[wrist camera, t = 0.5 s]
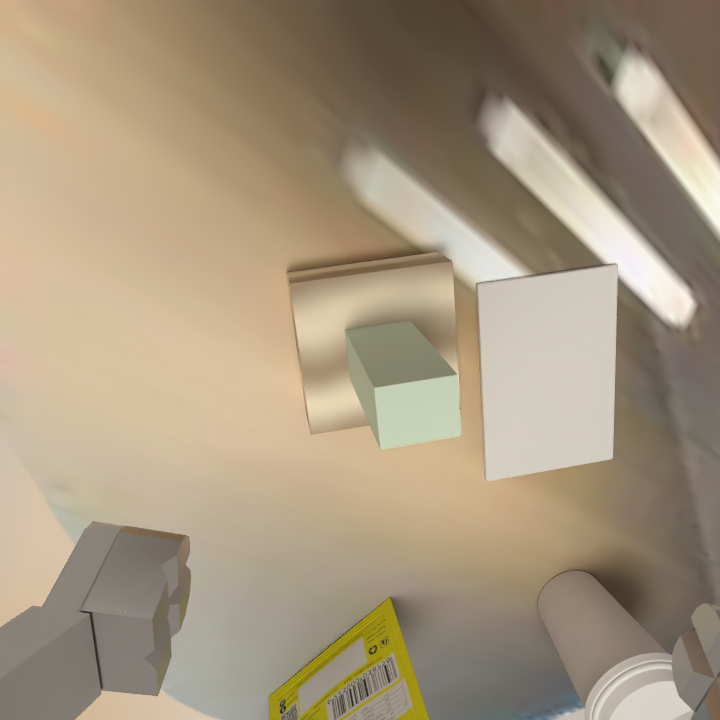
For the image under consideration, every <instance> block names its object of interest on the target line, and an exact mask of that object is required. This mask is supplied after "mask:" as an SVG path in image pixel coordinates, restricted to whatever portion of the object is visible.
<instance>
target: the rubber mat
mask: <svg viewBox="0 0 720 720" xmlns="http://www.w3.org/2000/svg"><path fill="white" fill-rule="evenodd" d="M617 277H618V265H616V264H611V265H604V266H597V267H590V268H583V269H576V270H569V271H562V272H555V273H547V274H540V275H533V276H526V277H519V278H512V279H505V280H498V281H491V282H484V283H477V284H476V298H477V320H478V342H479V364H480V386H481V408H482V429H483V451H484V473H485V480H486V481H492V480H498V479H503V478H509V477H515V476H520V475H526V474H531V473H537V472H542V471H548V470H554V469H559V468H565V467H570V466H576V465H582V464H587V463H593V462H598V461H604V460H609V459H613V431H614V393H615V354H616V316H617Z"/></svg>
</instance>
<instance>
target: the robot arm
mask: <svg viewBox="0 0 720 720" xmlns="http://www.w3.org/2000/svg"><path fill="white" fill-rule="evenodd" d="M189 553H190V542H189V536H186V535H181V534H174V533H168V532H162V531H156V530H149V529H143V528H137V527H130V526H122V525H115V524H109V523H102V522H95V521H93V522H92V523H91V524H90V525H89V526H88V527H87V528H86V529H85V530H84V532H83V534H82V536H81V537H80V539H79V541H78V543H77V545H76V546H75V548H74V550H73V552H72V554H71V555H70V557H69V559H68V561H67V563H66V565H65V566H64V568H63V570H62V572H61V574H60V575H59V577H58V579H57V581H56V583H55V584H54V586H53V588H52V590H51V592H50V594H49V595H48V597H47V599H46V601H45V603H44V604H43V606H42V607H39V606H31V607H30V608H29V609H27V610H25V611H24V612H22V613H21V614H20V615H18V616H16V617H15V618H13V619H12V620H11V621H9V622H7V623H6V624H4V625H3V626H2V627H0V720H75V719H76V718H77V717H78V716H79V715H80V714H81V713H82V712H83V711H84V710H85V709H86V708H87V707H88V706H89V705H90V704H92V703H93V702H94V701H95V700H96V699H97V698H98V697H99V696H100V695H101V690H104V691H113V692H122V693H133V694H142V695H152V696H158V694H159V691H160V688H161V685H162V682H163V680H164V677H165V674H166V671H167V668H168V665H169V662H170V659H171V637H172V636H174V635H175V634H176V633H177V632H179V631H180V629H181V626H182V623H183V619H184V616H185V613H186V608H187V604H188V599H189V594H190V583H191V571H190V569H189V568H188V567H187V566H186V562H187V559H188V556H189ZM691 619H692V622H693V624H694V627H695V628H694V629H692V630H690V631H688V632H686V633H684V634H682V635H680V637H679V639H678V641H677V643H676V645H675V647H674V649H673V658H672V672H673V679H674V683H675V686H676V689H677V692H678V695H679V697H680V698H681V699H682V700H683V701H684V702H685V703H686V704H687V705H688V706H689V707H690V708H691V709H692V710H693V711H694V712H693V714H692V717H691V719H690V720H720V605H716V604H708V603H704V604H702V605H701V606H699V607H697V608H696V610H695V612H694V613H693V615H692V617H691Z"/></svg>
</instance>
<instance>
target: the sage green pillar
mask: <svg viewBox="0 0 720 720" xmlns="http://www.w3.org/2000/svg"><path fill="white" fill-rule="evenodd" d="M344 331H345V340H346V348H347V357H348V366H349V374H350V381H351V383H352V385H353V388H354V390H355V392H356V395H357V397H358V399H359V402H360V404H361V406H362V408H363V411H364V413H365V415H366V418H367V420H368V422H369V425H370V427H371V429H372V431H373V434H374V436H375V438H376V441H377V443H378V445H379V448H380V450H382V449H388V448H394V447H400V446H406V445H411V444H417V443H423V442H429V441H435V440H441V439H447V438H453V437H459V436H461V423H460V405H459V388H458V374H457V373H456V372H455V371H454V370H453V369H452V367H451V366H450V365H449V364H448V363H447V362H446V361H445V359H444V358H443V357H442V356H441V355H440V354H439V353H438V351H437V350H436V349H435V348H434V347H433V346H432V345H431V343H430V342H429V341H428V340H427V339H426V338H425V337H424V335H423V334H422V333H421V332H420V331H419V330H418V329H417V327H416V326H415V325H414V324H413V323H412V322H411V321H410V320H408V321H401V322H394V323H387V324H381V325H374V326H367V327H360V328H353V329H347V330H344Z"/></svg>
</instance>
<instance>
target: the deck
mask: <svg viewBox="0 0 720 720" xmlns="http://www.w3.org/2000/svg"><path fill="white" fill-rule="evenodd" d="M286 273H287V280H288V287H289V294H290V302H291V309H292V316H293V323H294V330H295V337H296V344H297V351H298V358H299V365H300V372H301V380H302V387H303V394H304V401H305V408H306V415H307V419H308V423H309V428H310V432H311V435H313V434H319V433H325V432H331V431H337V430H343V429H349V428H355V427H361V426H368V425H369V422H368V420H367V418H366V415H365V413H364V411H363V408H362V406H361V404H360V402H359V399H358V397H357V395H356V392H355V390H354V388H353V385H352V383H351V381H350V374H349V366H348V357H347V348H346V340H345V331H344V330H347V329H353V328H360V327H367V326H374V325H381V324H387V323H394V322H401V321H408V320H410V321H411V322H412V323H413V324H414V325H415V326H416V327H417V329H418V330H419V331H420V332H421V333H422V334H423V335H424V337H425V338H426V339H427V340H428V341H429V342H430V343H431V345H432V346H433V347H434V348H435V349H436V350H437V351H438V353H439V354H440V355H441V356H442V357H443V358H444V359H445V361H446V362H447V363H448V364H449V365H450V366H451V367H452V369H453V370H454V371H455V372H456V373H457V374H458V388H459V370H458V353H457V335H456V318H455V300H454V283H453V265H452V261H451V260H449V259H448V258H446V257H445V256H443V255H442V254H440V253H439V252H433V253H426V254H419V255H411V256H404V257H396V258H389V259H382V260H374V261H367V262H360V263H352V264H345V265H337V266H330V267H323V268H315V269H308V270H301V271H293V272H286ZM459 405H460V388H459ZM460 410H461V406H460Z"/></svg>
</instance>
